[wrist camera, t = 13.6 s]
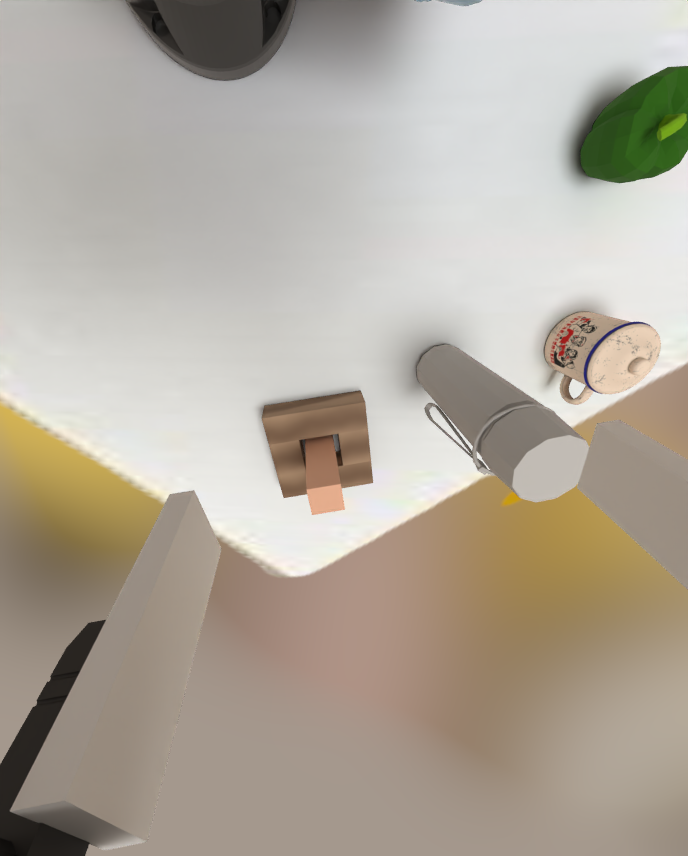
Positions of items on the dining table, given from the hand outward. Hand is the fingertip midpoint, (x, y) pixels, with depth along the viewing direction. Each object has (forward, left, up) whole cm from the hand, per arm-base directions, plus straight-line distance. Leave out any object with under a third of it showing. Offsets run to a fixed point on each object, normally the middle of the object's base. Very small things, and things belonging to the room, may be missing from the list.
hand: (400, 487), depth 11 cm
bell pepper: (-13, +33, -36) cm, 51 cm away
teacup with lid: (+11, +34, -36) cm, 51 cm away
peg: (+19, -4, -36) cm, 41 cm away
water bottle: (+11, +14, -36) cm, 40 cm away
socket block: (+19, -4, -36) cm, 41 cm away
